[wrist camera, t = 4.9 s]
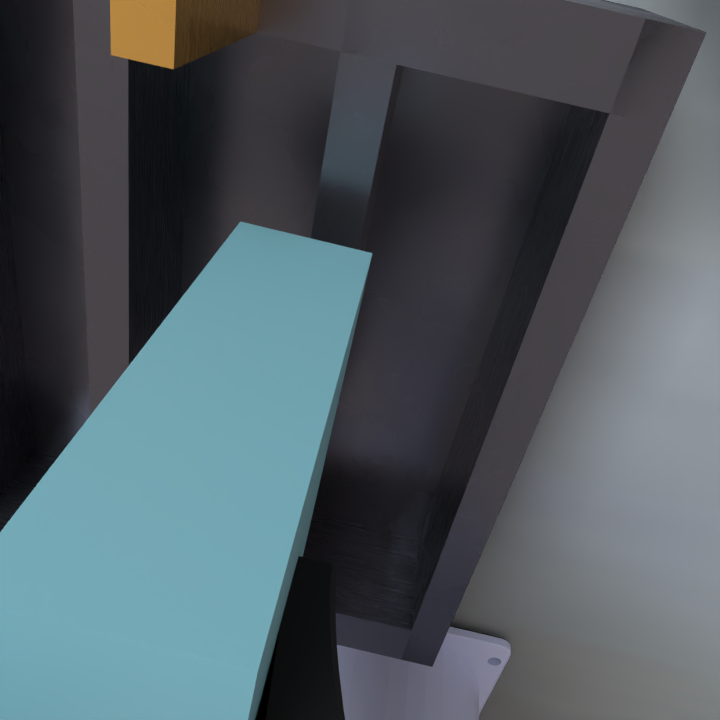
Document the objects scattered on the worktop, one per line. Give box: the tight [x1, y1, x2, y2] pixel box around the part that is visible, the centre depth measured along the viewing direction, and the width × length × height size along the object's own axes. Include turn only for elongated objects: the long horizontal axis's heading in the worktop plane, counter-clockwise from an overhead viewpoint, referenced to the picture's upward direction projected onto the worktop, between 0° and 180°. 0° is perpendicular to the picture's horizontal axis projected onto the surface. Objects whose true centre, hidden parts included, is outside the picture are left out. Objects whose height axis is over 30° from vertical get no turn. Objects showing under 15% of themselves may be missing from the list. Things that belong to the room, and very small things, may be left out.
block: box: [0, 221, 372, 720], centre depth 11 cm, size 10×2×8 cm, turn 169°
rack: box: [0, 0, 706, 667], centre depth 16 cm, size 22×15×8 cm
